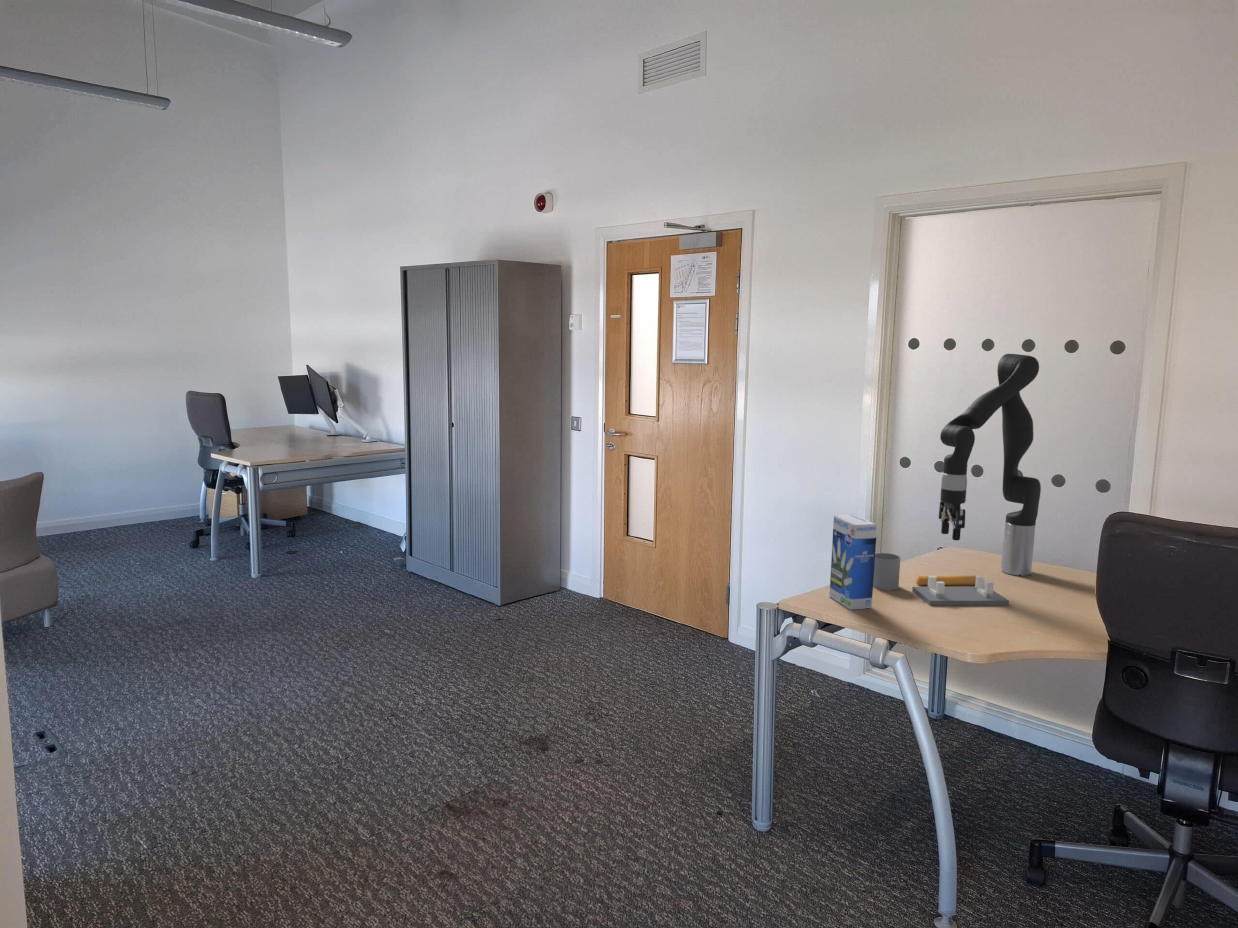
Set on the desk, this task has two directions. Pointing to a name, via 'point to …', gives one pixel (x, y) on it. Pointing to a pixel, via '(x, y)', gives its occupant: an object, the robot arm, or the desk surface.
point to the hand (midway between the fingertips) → (950, 536)
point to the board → (959, 593)
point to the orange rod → (948, 580)
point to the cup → (886, 571)
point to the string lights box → (853, 561)
